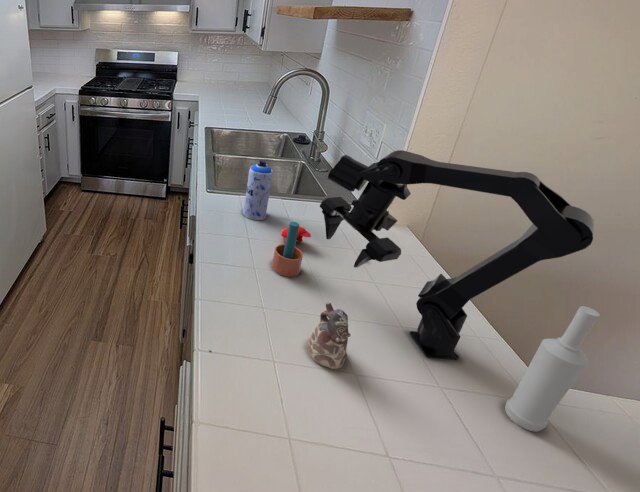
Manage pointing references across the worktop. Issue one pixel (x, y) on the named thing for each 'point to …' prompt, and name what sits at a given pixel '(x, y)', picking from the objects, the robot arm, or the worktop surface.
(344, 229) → the worktop surface
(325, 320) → the figurine
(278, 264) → the tumbler
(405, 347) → the worktop surface
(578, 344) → the bottle
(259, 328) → the worktop surface
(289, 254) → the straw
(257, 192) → the aerosol can
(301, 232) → the red toy animal
